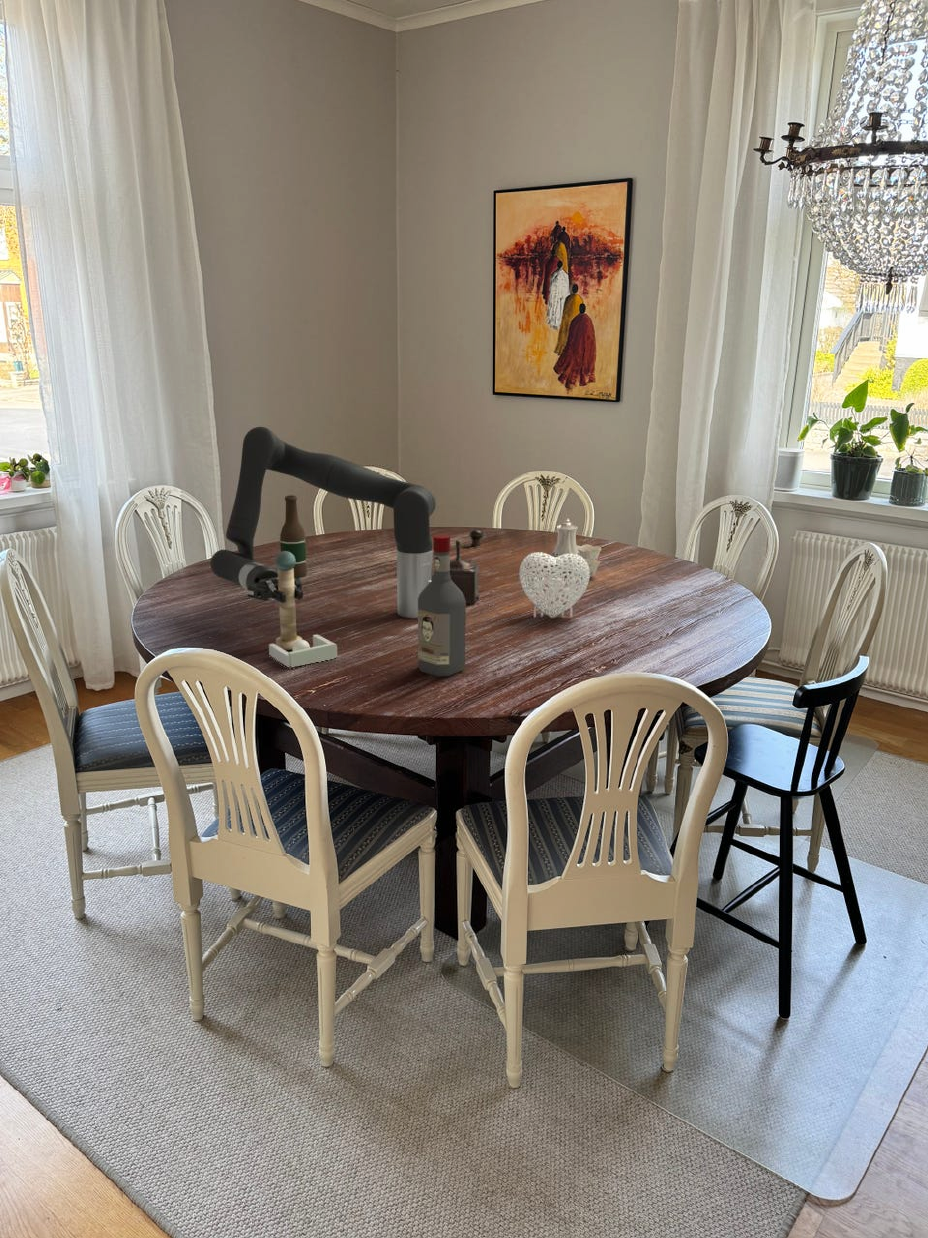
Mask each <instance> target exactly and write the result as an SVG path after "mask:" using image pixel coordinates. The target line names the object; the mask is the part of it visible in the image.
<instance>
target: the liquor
mask: <svg viewBox="0 0 928 1238" xmlns="http://www.w3.org/2000/svg"><path fill="white" fill-rule="evenodd" d="M432 538H433V539H432V541H433V580H432V581H431V582H430V583H429V584H428V585H427V586H426V587H425V588H424V590H423V591H422V592H421V593H420V594H419V597H418V618H417V664H418V669H419V671H420V672H421V673H425V674H428V675H431V676H434V677H438V678H439V677H451V676H453V675H455V674H458V673H460V672H462V671H464V669H465V668H466V625H467V624H466V621H467V620H466V618H467V617H466V615H467V613H466V611H467V610H466V608H467V605H466V601H465V598H464V595H463V593H462V591H461V590H460V589H459V588H458V587H457V586H456V585H455V584H454V583H453V582H452V580H451V576H450V561H451V560H450V557H451V556H450V555H451V554H450V552H451V536H450V535H448V534H435V535H433V537H432Z"/></svg>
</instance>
